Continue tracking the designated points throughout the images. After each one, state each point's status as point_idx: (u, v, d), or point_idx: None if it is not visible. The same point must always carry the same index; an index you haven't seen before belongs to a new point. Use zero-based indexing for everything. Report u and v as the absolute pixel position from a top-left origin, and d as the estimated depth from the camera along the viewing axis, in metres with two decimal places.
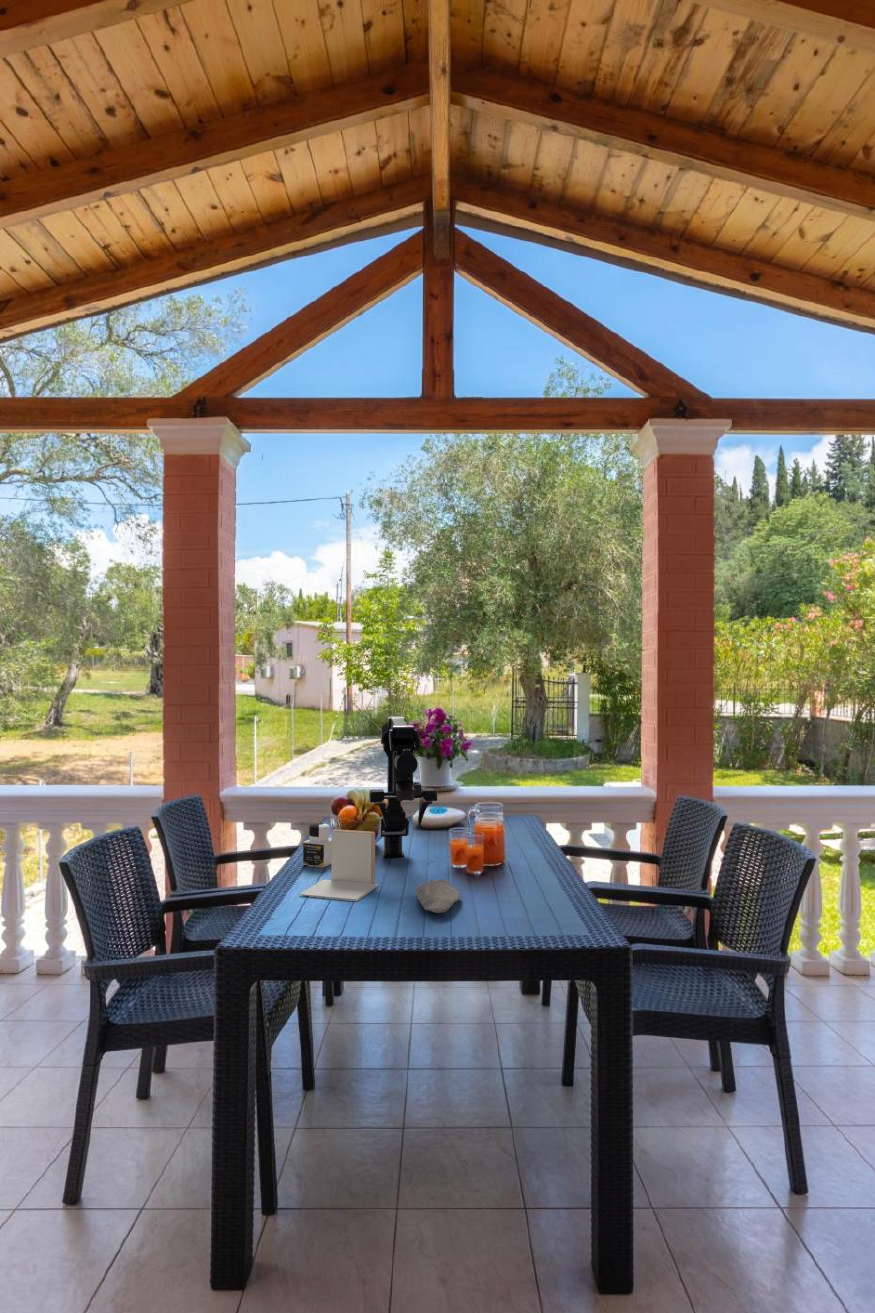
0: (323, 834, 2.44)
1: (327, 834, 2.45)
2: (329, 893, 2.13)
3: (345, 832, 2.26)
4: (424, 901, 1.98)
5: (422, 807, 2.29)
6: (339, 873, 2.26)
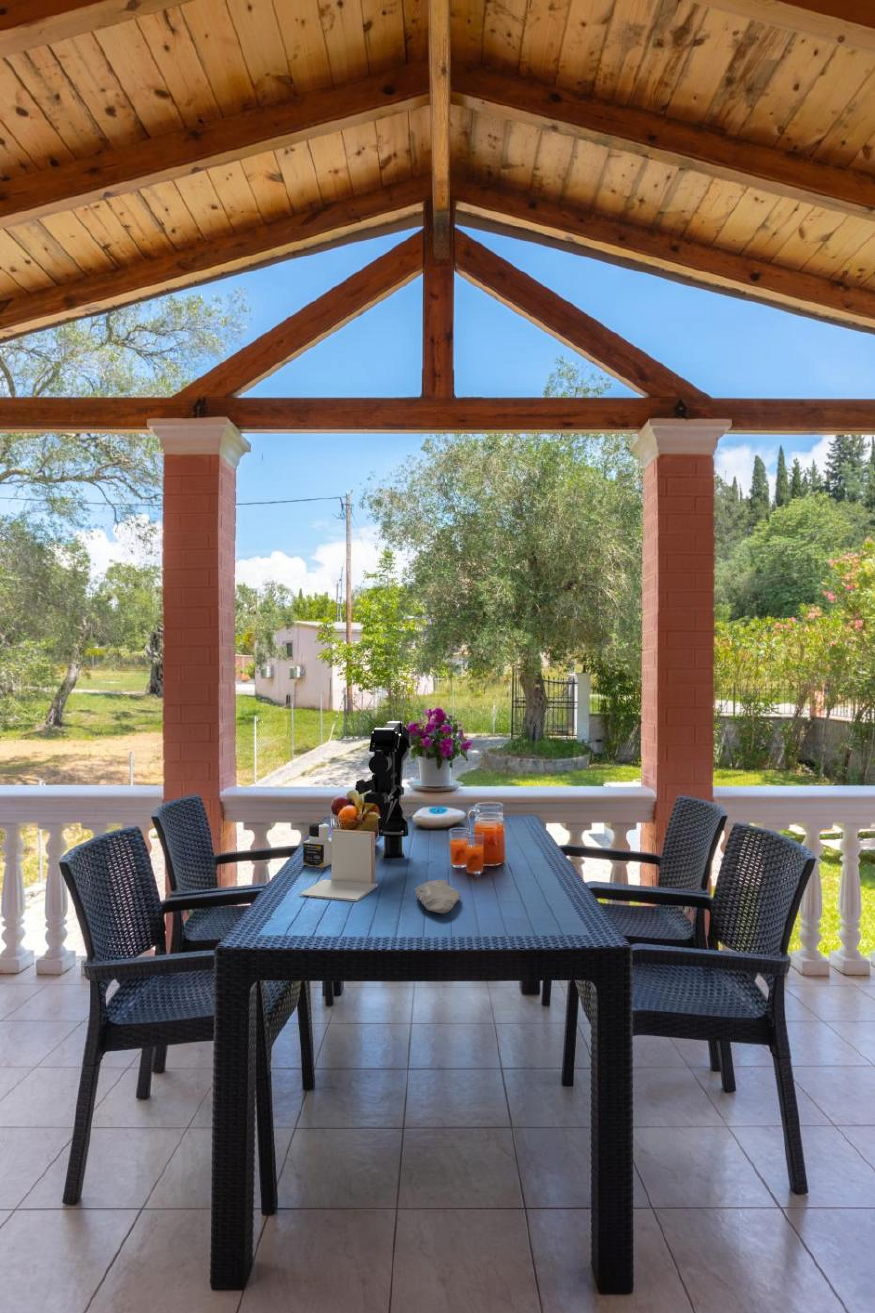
0: (323, 834, 2.44)
1: (327, 834, 2.45)
2: (329, 893, 2.13)
3: (345, 832, 2.26)
4: (426, 901, 1.98)
5: None
6: (339, 873, 2.26)
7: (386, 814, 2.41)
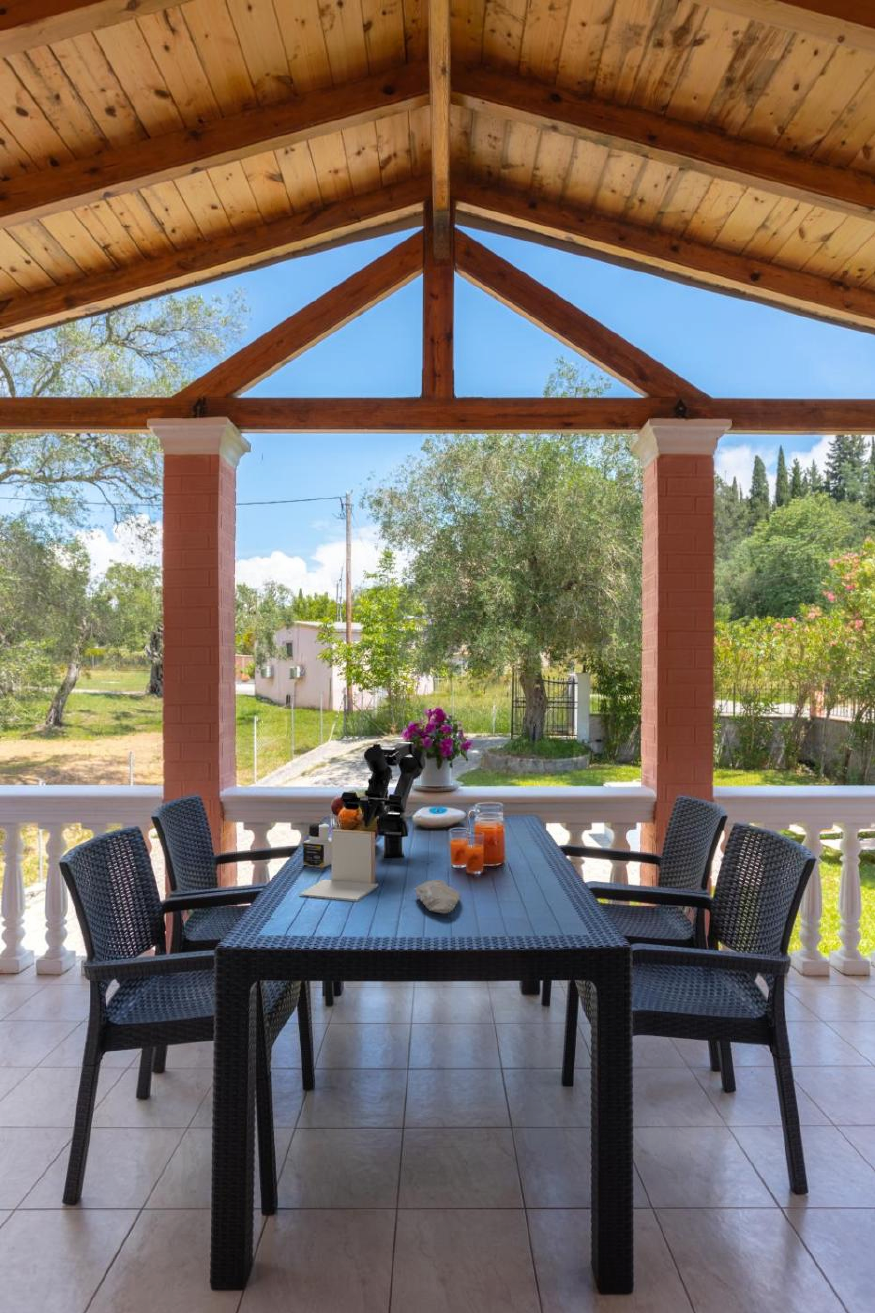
0: (323, 834, 2.44)
1: (327, 834, 2.45)
2: (329, 893, 2.13)
3: (345, 832, 2.26)
4: (428, 902, 1.97)
5: None
6: (339, 873, 2.26)
7: None
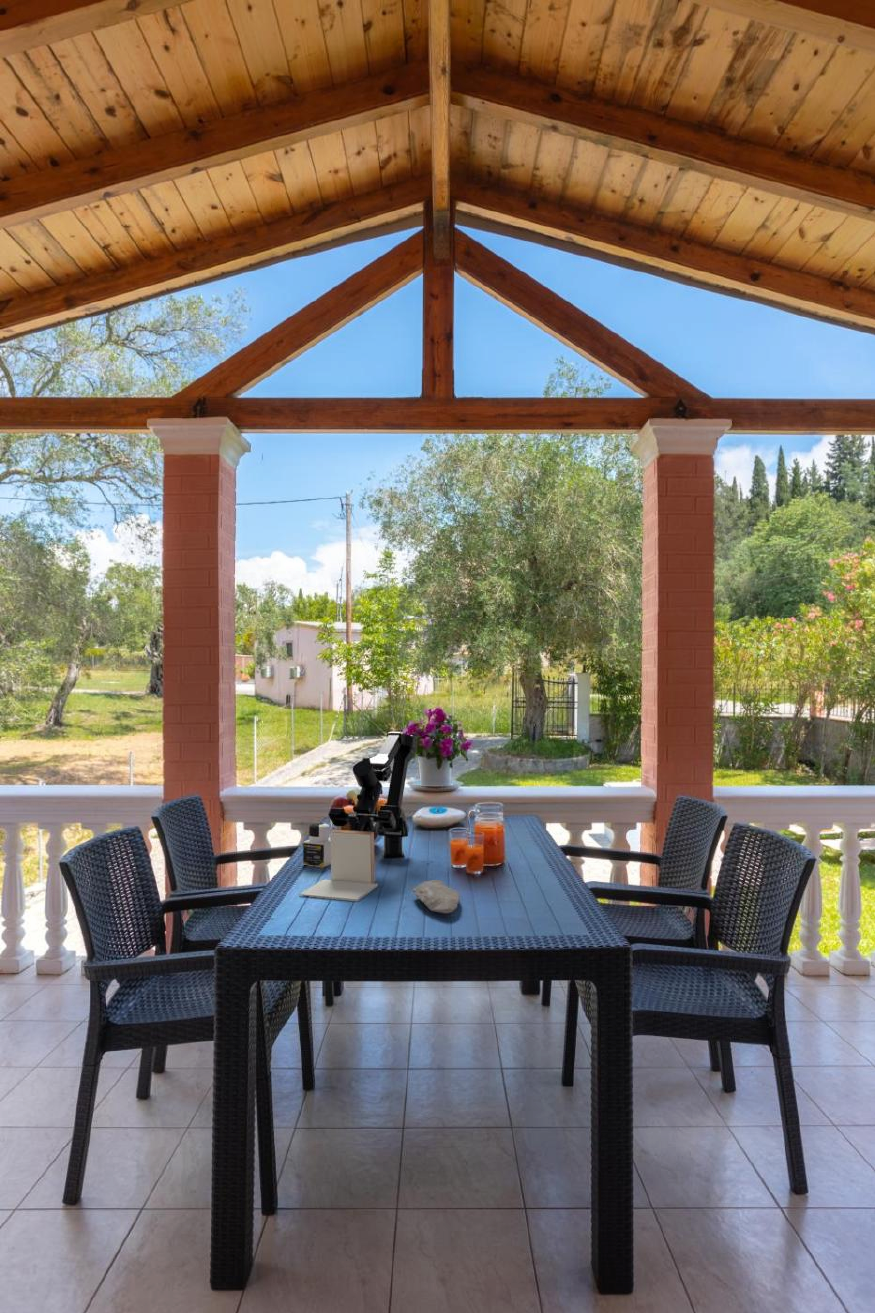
0: (323, 834, 2.44)
1: (327, 834, 2.45)
2: (329, 893, 2.13)
3: (344, 833, 2.25)
4: (430, 902, 1.97)
5: None
6: (338, 874, 2.26)
7: None
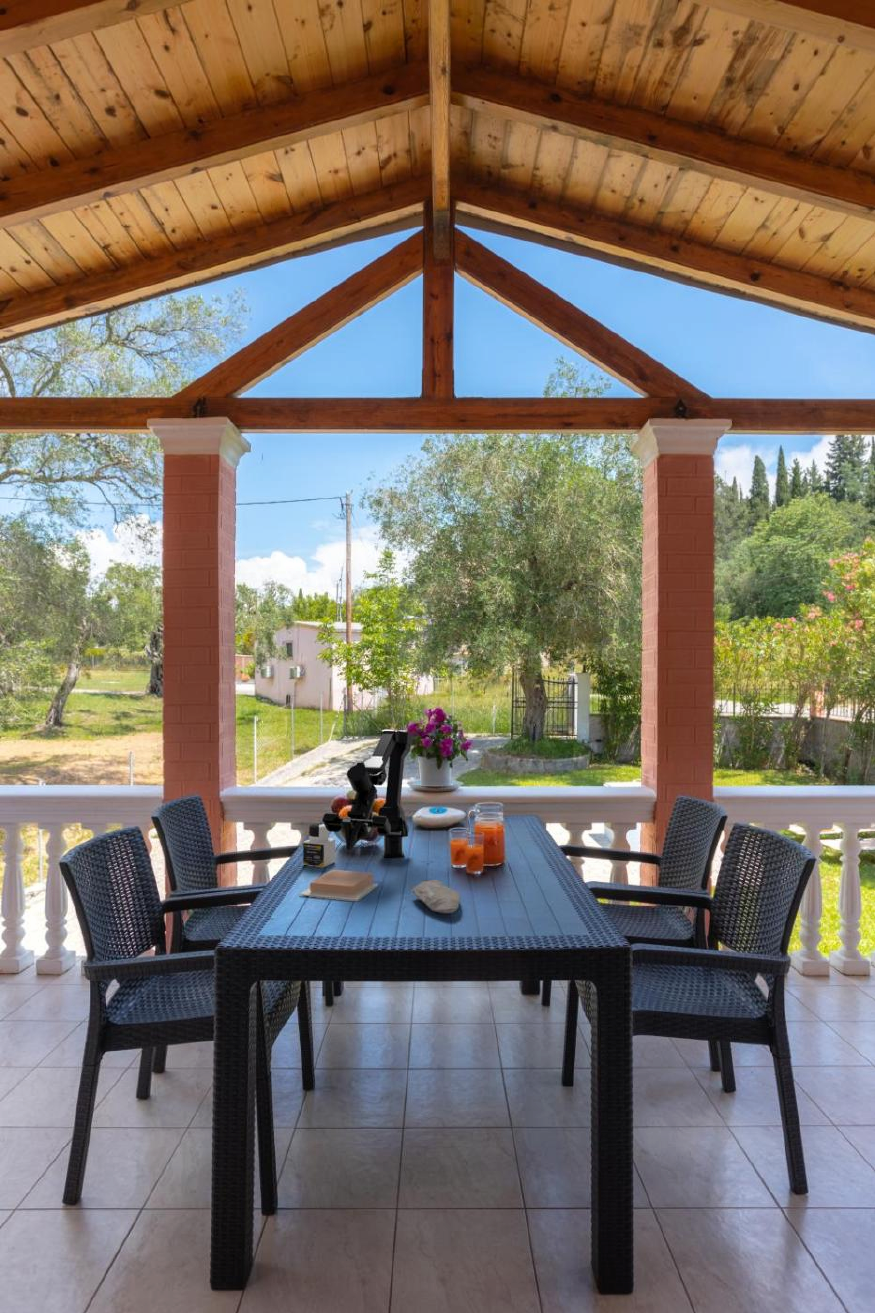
0: (323, 834, 2.44)
1: (327, 834, 2.45)
2: None
3: (325, 892, 2.13)
4: (431, 902, 1.97)
5: None
6: None
7: None
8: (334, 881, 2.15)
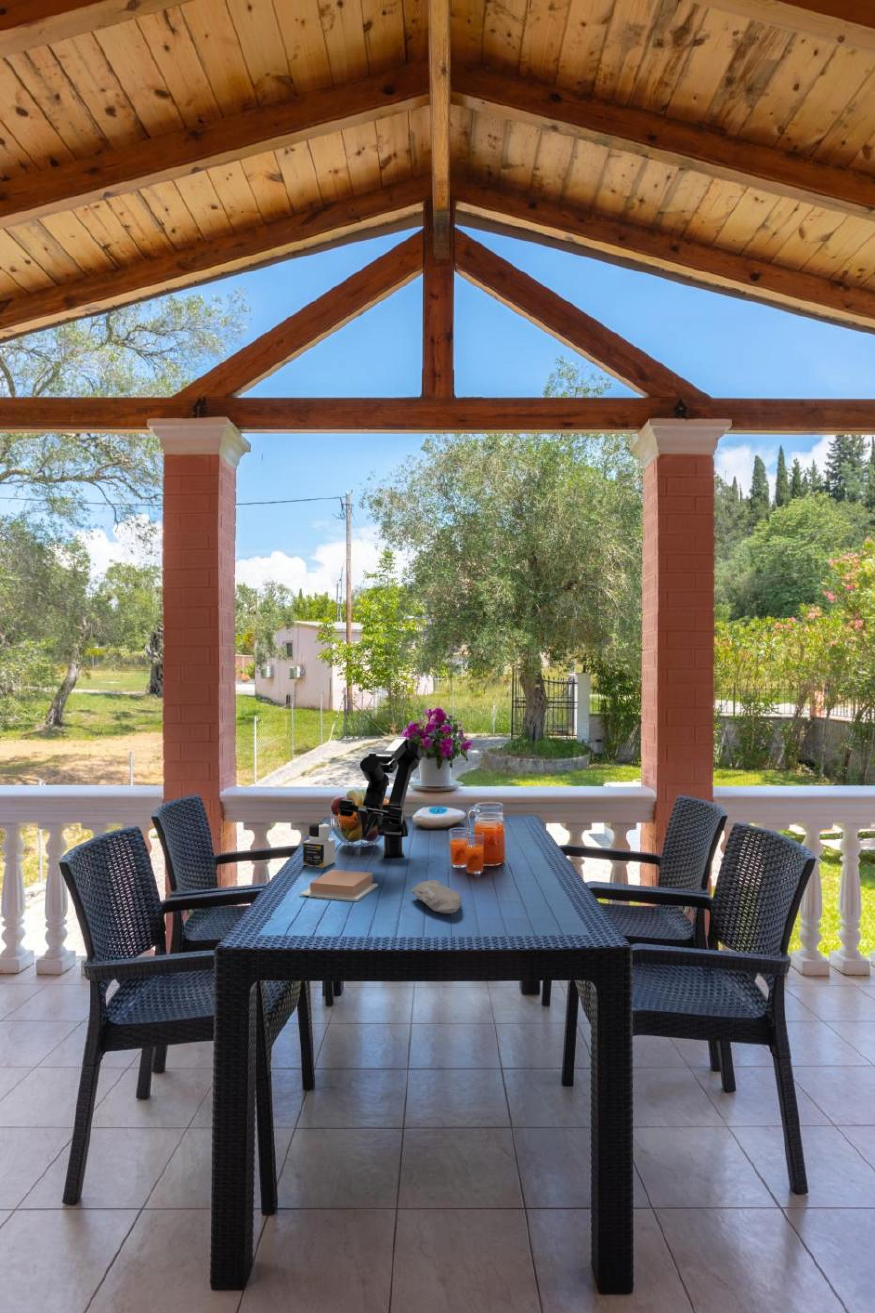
0: (323, 834, 2.44)
1: (327, 834, 2.45)
2: None
3: (325, 892, 2.13)
4: (433, 903, 1.97)
5: None
6: None
7: (362, 827, 2.35)
8: (334, 881, 2.15)
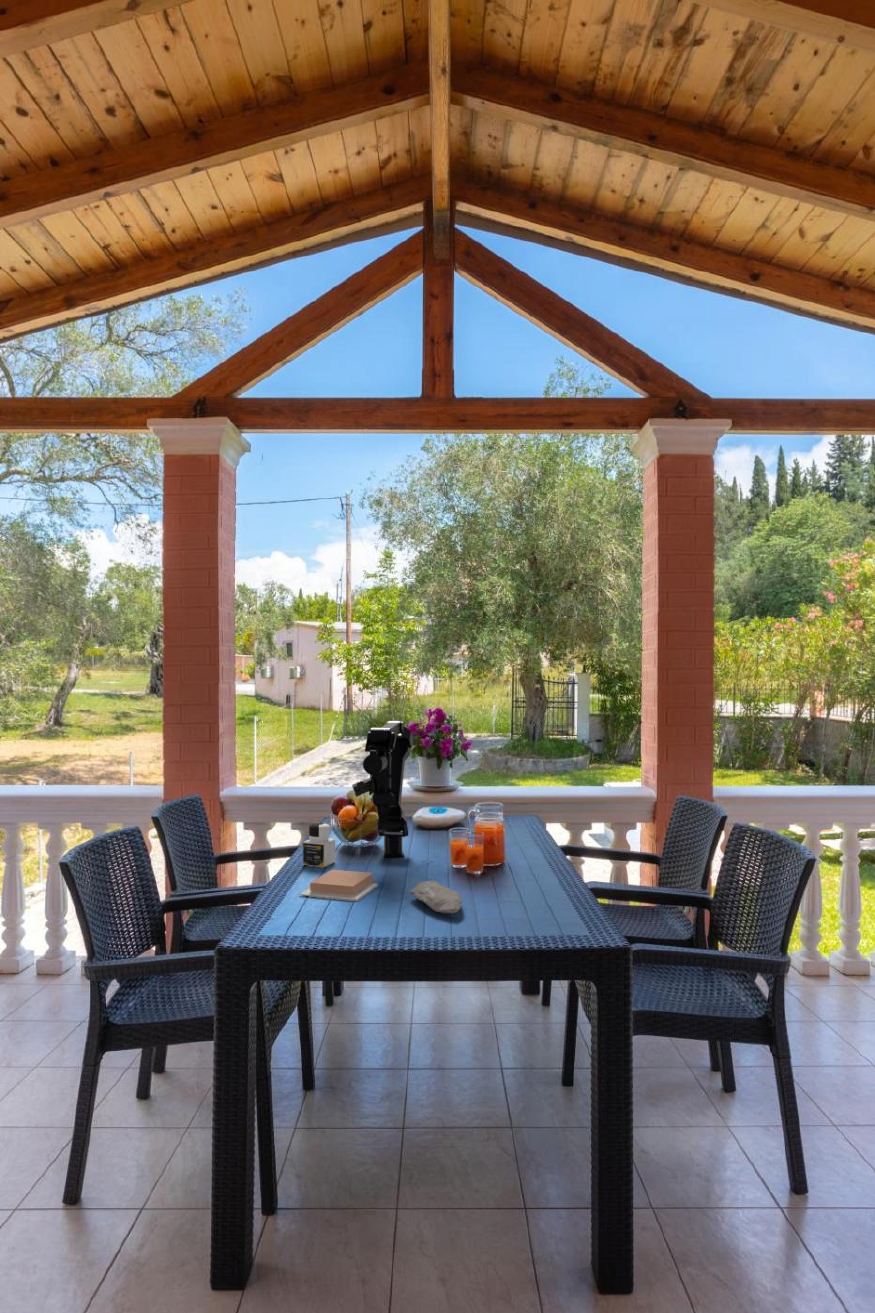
0: (323, 834, 2.44)
1: (327, 834, 2.45)
2: None
3: (325, 892, 2.13)
4: (434, 903, 1.97)
5: None
6: None
7: (384, 814, 2.41)
8: (334, 881, 2.15)
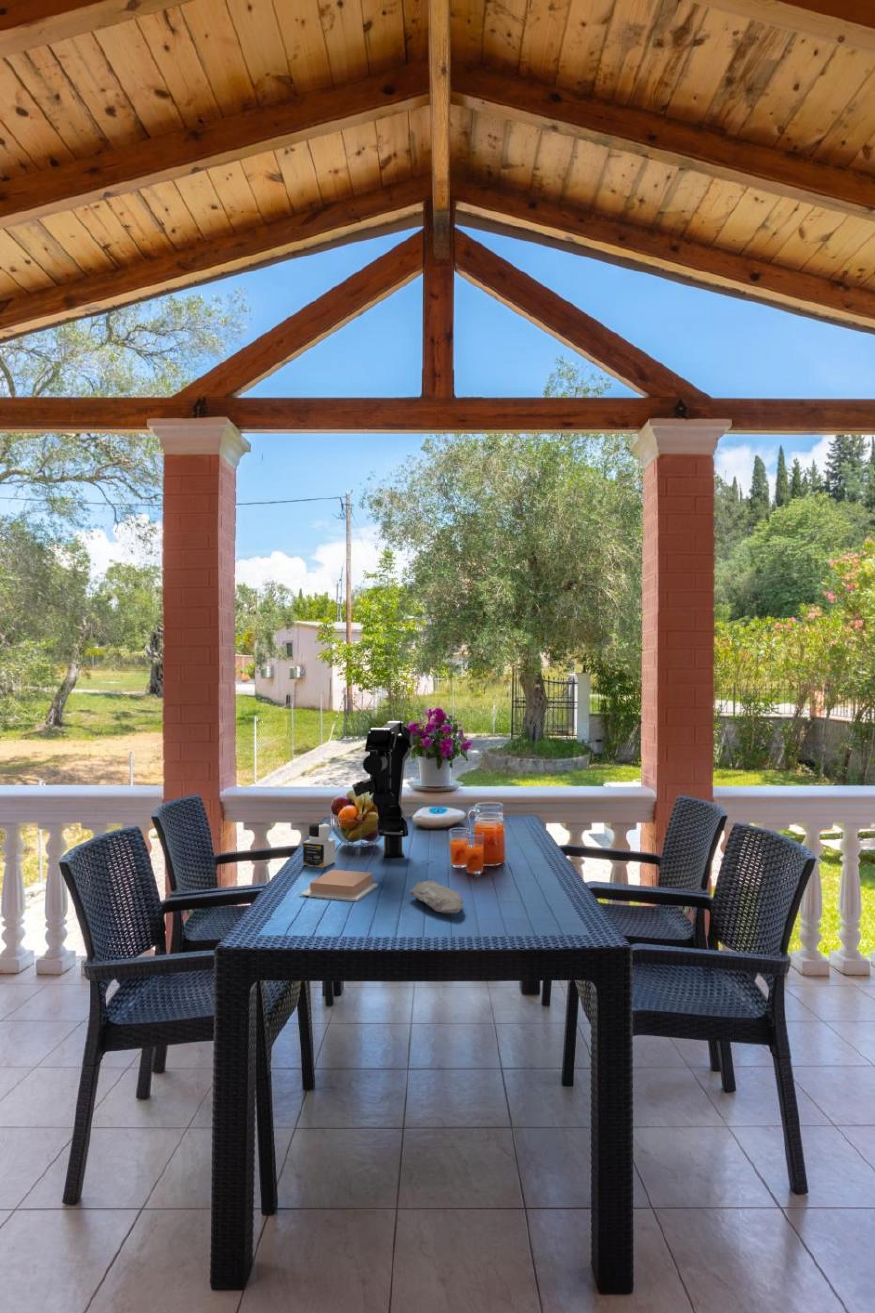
0: (323, 834, 2.44)
1: (327, 834, 2.45)
2: None
3: (325, 892, 2.13)
4: (435, 903, 1.97)
5: None
6: None
7: (385, 814, 2.41)
8: (334, 881, 2.15)
